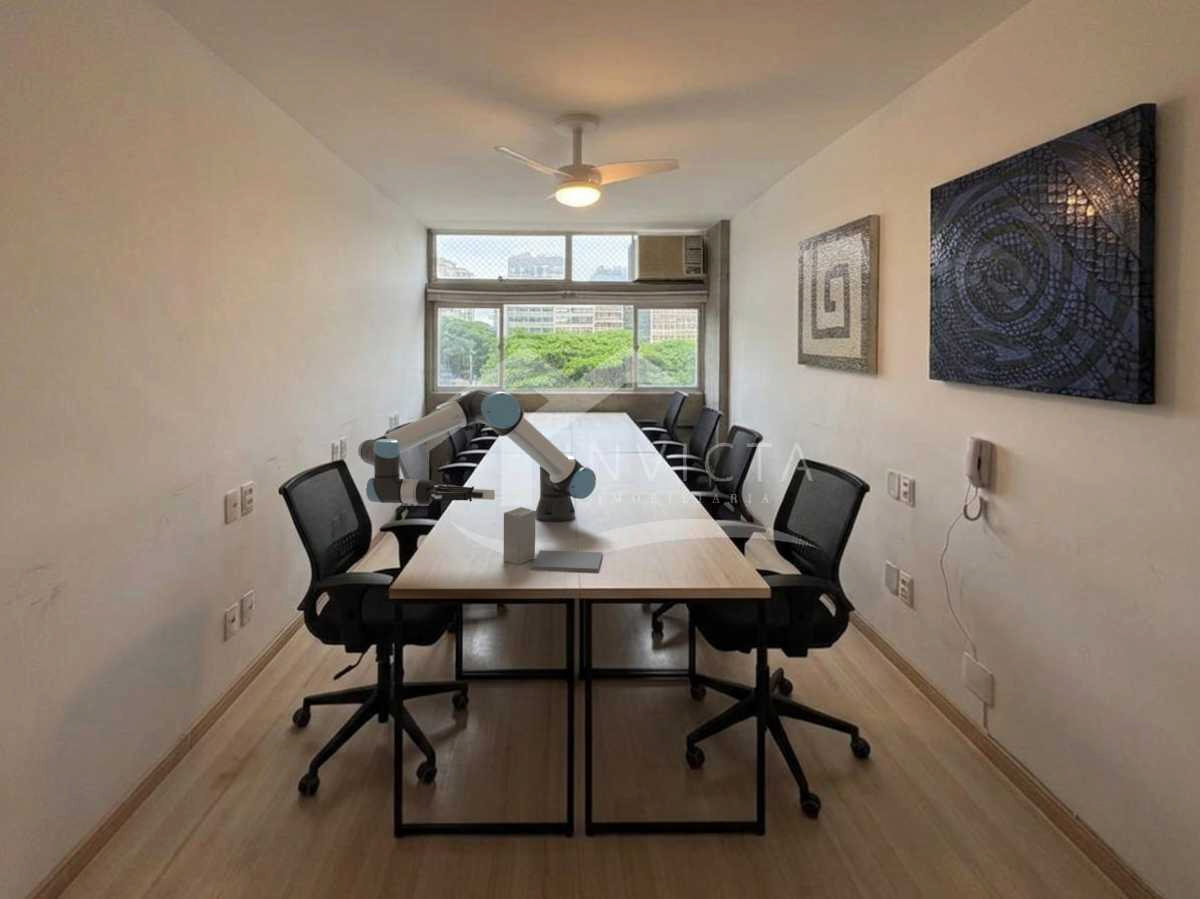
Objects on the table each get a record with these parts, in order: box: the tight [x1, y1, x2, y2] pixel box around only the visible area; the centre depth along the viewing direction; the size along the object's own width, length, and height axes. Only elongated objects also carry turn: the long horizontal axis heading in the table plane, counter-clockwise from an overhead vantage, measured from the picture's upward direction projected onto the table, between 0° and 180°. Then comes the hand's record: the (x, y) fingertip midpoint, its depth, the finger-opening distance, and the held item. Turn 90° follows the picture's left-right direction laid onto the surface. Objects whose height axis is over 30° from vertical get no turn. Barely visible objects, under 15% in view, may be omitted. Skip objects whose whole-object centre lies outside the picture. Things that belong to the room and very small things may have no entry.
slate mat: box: [530, 549, 603, 573], centre depth 221 cm, size 20×16×1 cm
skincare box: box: [503, 506, 537, 566], centre depth 221 cm, size 8×7×16 cm
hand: (494, 494), depth 219 cm, fingers closed
